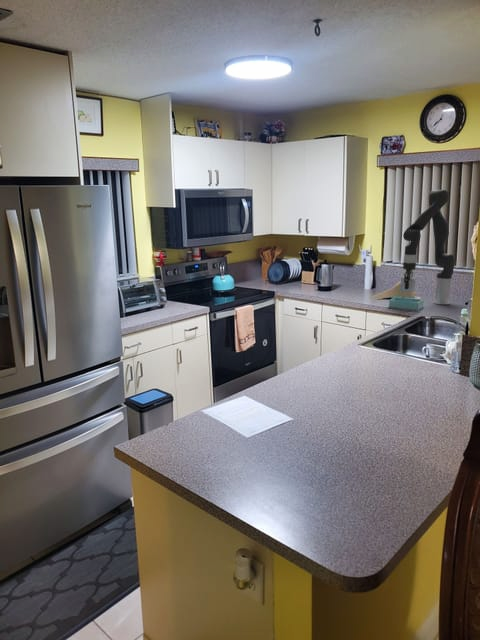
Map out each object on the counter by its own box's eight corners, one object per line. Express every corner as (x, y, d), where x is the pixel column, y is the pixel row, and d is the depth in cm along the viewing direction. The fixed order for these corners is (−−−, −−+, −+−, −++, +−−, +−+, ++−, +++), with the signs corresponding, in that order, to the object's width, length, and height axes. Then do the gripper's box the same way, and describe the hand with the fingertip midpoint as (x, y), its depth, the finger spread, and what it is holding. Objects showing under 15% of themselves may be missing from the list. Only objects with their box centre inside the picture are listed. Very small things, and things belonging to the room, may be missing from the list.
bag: (416, 302, 356) (367, 298, 359) (418, 278, 354) (369, 274, 357) (423, 304, 337) (371, 300, 340) (426, 279, 335) (374, 275, 338)
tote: (394, 304, 326) (395, 296, 325) (422, 306, 317) (423, 299, 316) (388, 307, 313) (389, 300, 312) (417, 310, 304) (418, 302, 303)
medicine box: (414, 291, 312) (415, 278, 310) (411, 292, 309) (413, 278, 307) (402, 290, 317) (403, 276, 315) (399, 291, 314) (400, 277, 312)
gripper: (406, 260, 316) (404, 286, 320) (400, 262, 305) (398, 289, 308) (418, 261, 313) (416, 287, 316) (413, 263, 301) (411, 290, 304)
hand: (407, 288), depth 312 cm, fingers closed on medicine box, 5 cm apart
